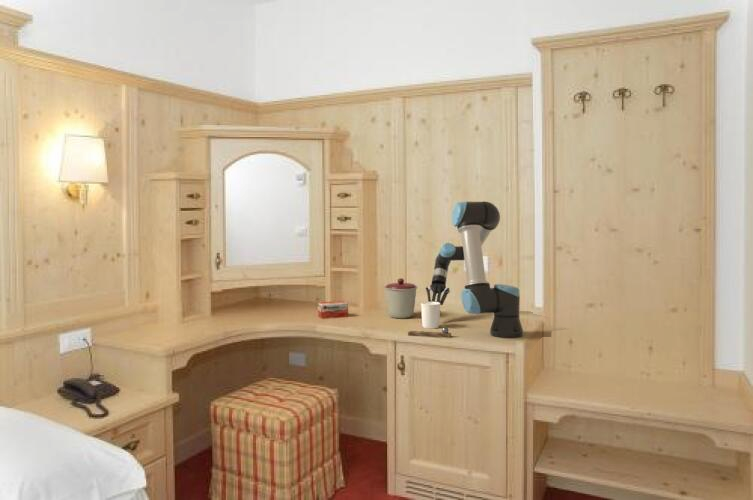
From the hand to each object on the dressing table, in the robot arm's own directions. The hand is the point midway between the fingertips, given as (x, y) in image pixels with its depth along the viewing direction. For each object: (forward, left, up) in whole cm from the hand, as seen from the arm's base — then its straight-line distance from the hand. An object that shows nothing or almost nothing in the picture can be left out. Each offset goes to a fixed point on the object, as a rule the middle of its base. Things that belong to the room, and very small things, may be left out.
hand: (433, 314), depth 321 cm
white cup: (0, +8, -5) cm, 10 cm away
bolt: (-11, +29, -3) cm, 31 cm away
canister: (+21, -15, -5) cm, 26 cm away
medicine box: (+57, -7, -5) cm, 58 cm away
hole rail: (-4, +29, -5) cm, 30 cm away
